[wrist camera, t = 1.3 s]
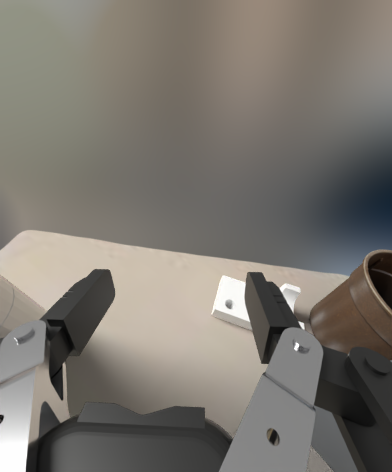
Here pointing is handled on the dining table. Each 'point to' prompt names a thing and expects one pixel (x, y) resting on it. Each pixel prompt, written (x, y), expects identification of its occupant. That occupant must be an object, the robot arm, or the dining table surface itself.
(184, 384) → the dining table surface
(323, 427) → the wall board
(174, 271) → the dining table surface
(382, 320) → the plant pot
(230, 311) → the bracket
